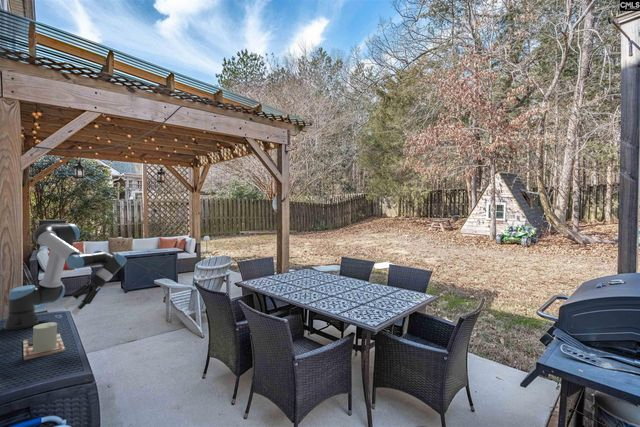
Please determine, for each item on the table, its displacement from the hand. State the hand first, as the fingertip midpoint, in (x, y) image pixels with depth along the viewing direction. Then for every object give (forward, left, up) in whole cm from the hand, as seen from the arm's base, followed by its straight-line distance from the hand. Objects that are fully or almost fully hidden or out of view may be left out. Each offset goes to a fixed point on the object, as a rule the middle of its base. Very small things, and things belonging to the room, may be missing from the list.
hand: (68, 311), depth 167 cm
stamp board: (+6, -9, -17) cm, 20 cm away
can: (+9, -3, -17) cm, 19 cm away
